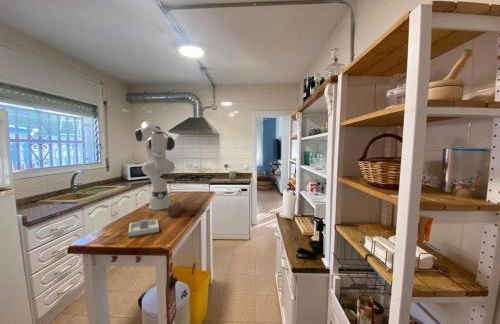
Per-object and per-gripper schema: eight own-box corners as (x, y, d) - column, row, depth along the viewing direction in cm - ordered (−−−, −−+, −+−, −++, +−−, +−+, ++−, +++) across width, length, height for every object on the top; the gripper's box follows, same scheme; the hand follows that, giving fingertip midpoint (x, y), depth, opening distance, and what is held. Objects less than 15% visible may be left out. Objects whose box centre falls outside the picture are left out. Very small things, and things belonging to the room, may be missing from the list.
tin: (170, 217, 157) (170, 206, 157) (166, 217, 158) (166, 205, 157) (181, 211, 172) (181, 200, 171) (177, 211, 173) (177, 200, 172)
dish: (129, 227, 138) (129, 223, 138) (157, 223, 145) (157, 219, 145) (128, 237, 124) (128, 231, 123) (159, 232, 131) (159, 227, 130)
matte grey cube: (140, 227, 135) (139, 220, 135) (148, 226, 137) (147, 218, 137) (140, 230, 131) (139, 222, 131) (148, 229, 133) (148, 221, 133)
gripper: (152, 154, 158) (153, 173, 159) (154, 155, 140) (155, 177, 141) (162, 154, 161) (163, 173, 162) (165, 155, 143) (165, 176, 144)
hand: (159, 175), depth 151 cm, fingers open, 8 cm apart
